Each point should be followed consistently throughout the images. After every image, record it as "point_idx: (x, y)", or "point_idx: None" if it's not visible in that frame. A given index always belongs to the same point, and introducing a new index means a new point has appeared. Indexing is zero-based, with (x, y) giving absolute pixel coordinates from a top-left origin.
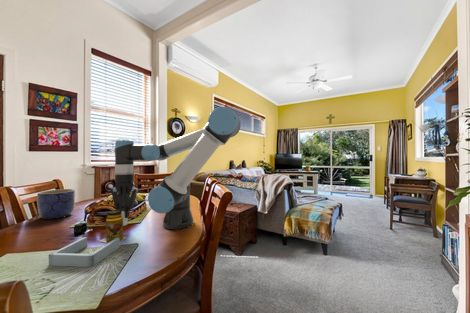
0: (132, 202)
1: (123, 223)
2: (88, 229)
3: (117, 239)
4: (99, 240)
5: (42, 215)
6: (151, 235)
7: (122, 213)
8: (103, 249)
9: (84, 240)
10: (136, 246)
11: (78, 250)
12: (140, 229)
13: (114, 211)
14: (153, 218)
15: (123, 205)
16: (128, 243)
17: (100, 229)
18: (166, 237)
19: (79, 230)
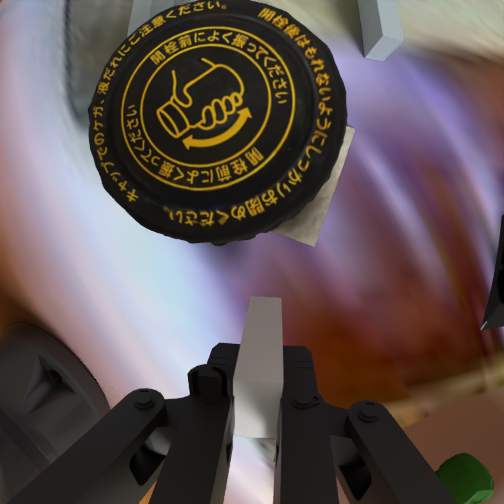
0: (68, 463)
1: (254, 305)
2: (497, 320)
3: (129, 23)
4: (351, 136)
5: None
6: (67, 245)
7: (261, 364)
8: None
9: (376, 23)
10: (72, 91)
11: (359, 7)
12: (186, 346)
13: (222, 130)
14: None
15: (277, 476)
16: None
17: (448, 332)
18: (6, 222)
19: None
